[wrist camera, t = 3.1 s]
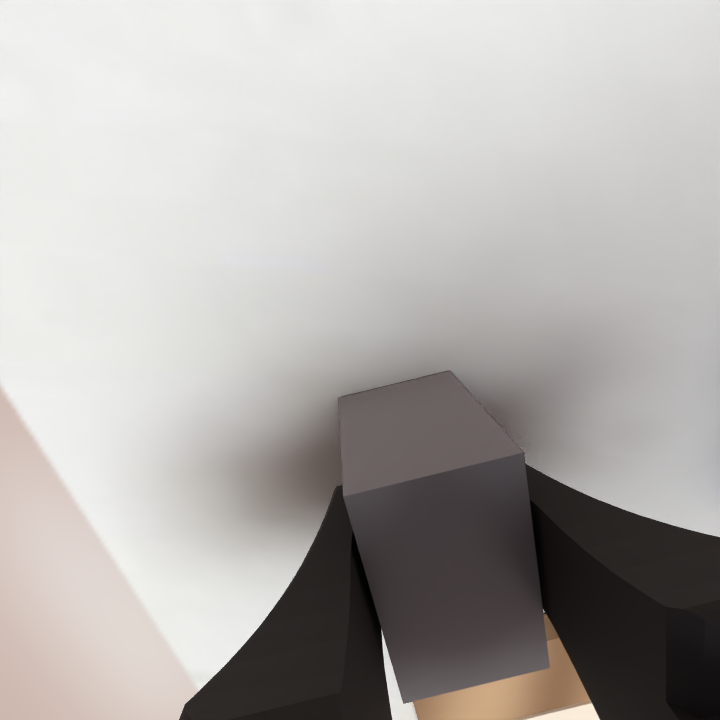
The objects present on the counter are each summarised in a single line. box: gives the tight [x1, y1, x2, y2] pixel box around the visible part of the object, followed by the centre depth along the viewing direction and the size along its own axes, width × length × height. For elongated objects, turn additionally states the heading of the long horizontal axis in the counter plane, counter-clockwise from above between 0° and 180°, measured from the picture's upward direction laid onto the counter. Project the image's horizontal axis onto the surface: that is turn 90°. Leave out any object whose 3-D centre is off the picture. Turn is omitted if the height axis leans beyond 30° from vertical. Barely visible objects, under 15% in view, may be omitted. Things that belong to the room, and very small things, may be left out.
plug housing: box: [338, 371, 550, 704], centre depth 11 cm, size 4×6×5 cm, turn 13°
